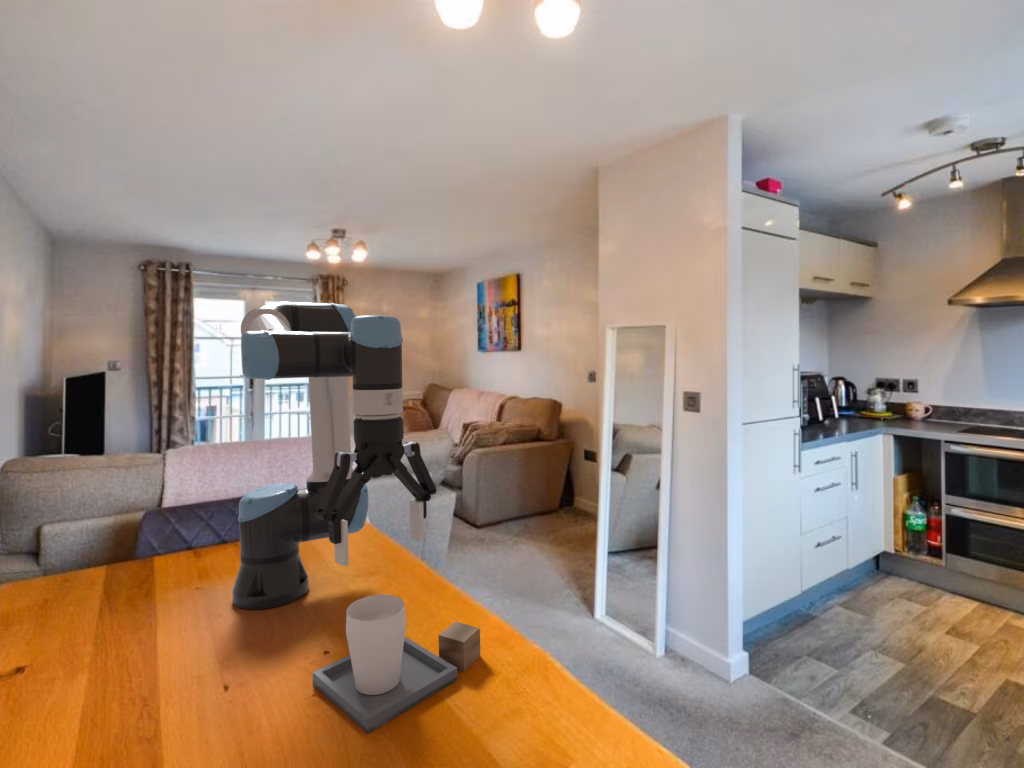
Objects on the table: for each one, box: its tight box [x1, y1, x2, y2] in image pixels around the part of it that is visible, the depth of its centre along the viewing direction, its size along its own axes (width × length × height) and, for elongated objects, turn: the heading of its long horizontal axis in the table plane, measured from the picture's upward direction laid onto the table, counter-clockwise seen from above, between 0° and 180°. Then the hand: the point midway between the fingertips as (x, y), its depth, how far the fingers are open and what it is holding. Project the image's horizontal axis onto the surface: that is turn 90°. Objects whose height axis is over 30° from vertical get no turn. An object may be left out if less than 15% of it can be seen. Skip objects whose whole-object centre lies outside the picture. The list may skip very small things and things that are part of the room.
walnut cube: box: [438, 621, 481, 673], centre depth 88 cm, size 5×5×5 cm
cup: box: [345, 594, 407, 695], centre depth 81 cm, size 9×9×12 cm
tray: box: [312, 636, 458, 734], centre depth 82 cm, size 16×16×2 cm
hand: (381, 550), depth 82 cm, fingers open, 13 cm apart
